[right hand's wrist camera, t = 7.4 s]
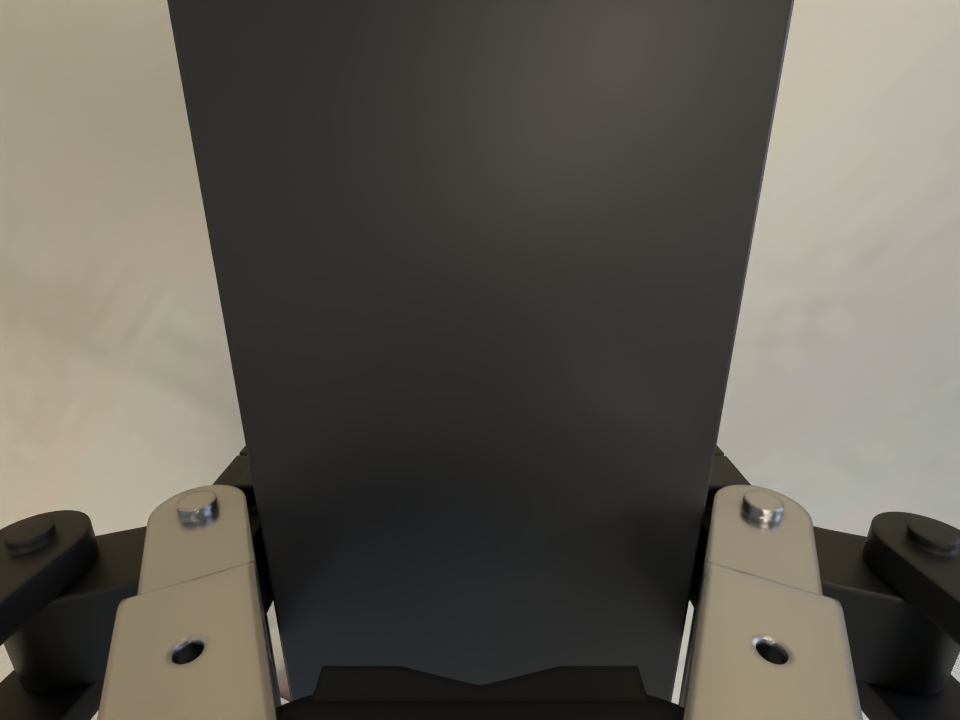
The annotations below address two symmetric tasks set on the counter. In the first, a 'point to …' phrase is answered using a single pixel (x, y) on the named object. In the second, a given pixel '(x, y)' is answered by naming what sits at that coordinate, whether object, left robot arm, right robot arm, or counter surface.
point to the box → (481, 311)
